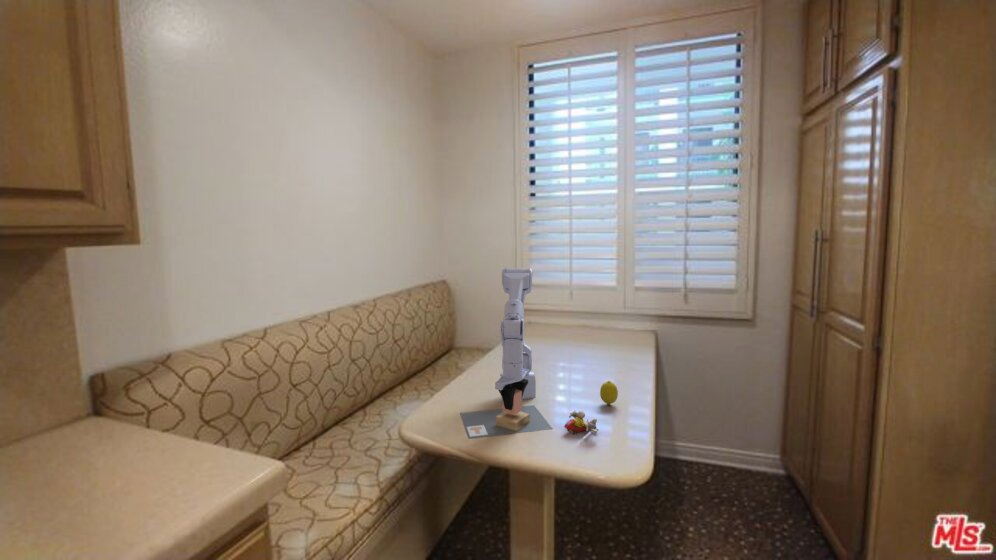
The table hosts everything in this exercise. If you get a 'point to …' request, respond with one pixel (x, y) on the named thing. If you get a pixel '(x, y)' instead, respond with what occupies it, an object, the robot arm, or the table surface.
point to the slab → (513, 420)
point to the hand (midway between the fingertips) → (512, 406)
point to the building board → (485, 425)
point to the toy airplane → (580, 423)
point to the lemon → (608, 392)
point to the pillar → (515, 403)
